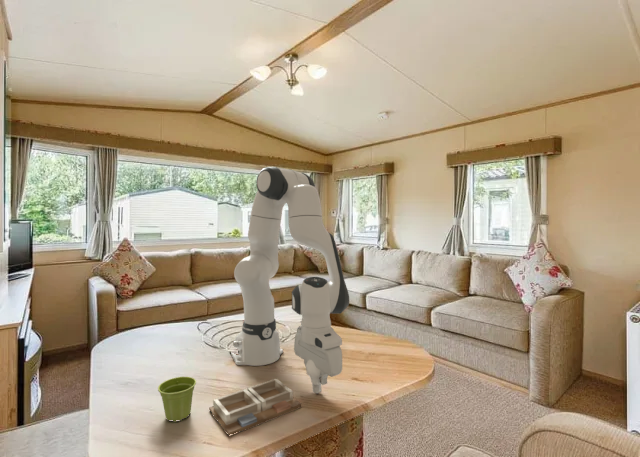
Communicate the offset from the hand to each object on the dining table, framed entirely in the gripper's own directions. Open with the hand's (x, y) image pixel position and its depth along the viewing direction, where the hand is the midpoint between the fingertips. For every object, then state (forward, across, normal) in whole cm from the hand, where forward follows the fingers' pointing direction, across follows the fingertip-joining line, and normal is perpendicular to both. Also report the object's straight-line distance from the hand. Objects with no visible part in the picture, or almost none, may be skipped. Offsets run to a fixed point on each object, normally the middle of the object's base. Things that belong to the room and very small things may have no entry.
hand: (316, 379), depth 104 cm
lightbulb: (+4, 0, 0) cm, 4 cm away
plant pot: (+5, -13, -36) cm, 39 cm away
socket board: (+5, -3, -18) cm, 19 cm away
